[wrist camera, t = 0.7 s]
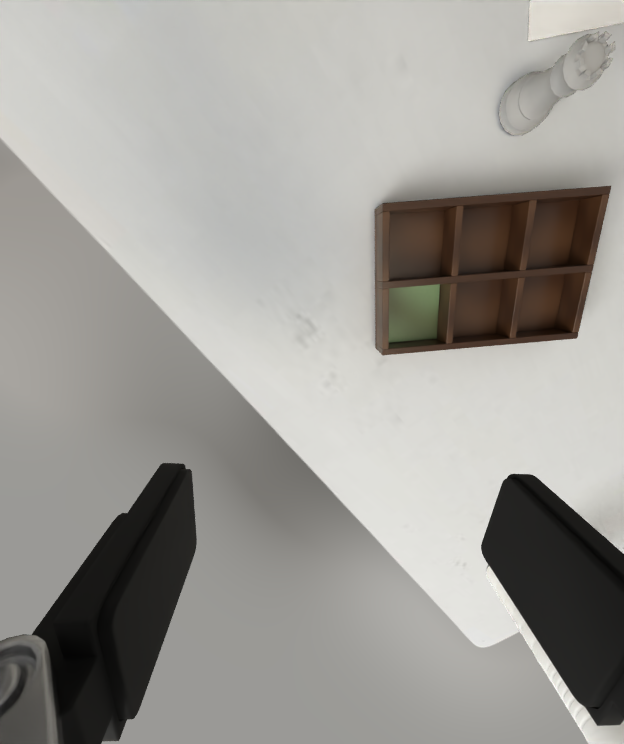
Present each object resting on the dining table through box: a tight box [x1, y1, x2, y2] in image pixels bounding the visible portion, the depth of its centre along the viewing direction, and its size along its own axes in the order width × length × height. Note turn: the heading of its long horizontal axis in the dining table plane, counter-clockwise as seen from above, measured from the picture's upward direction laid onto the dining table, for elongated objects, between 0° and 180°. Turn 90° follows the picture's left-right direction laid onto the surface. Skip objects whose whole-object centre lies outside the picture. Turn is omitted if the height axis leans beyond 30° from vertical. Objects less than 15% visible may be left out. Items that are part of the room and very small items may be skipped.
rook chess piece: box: [499, 32, 615, 135], centre depth 25 cm, size 4×4×8 cm
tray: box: [375, 186, 611, 355], centre depth 32 cm, size 15×22×3 cm
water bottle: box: [486, 566, 624, 744], centre depth 38 cm, size 9×6×25 cm
